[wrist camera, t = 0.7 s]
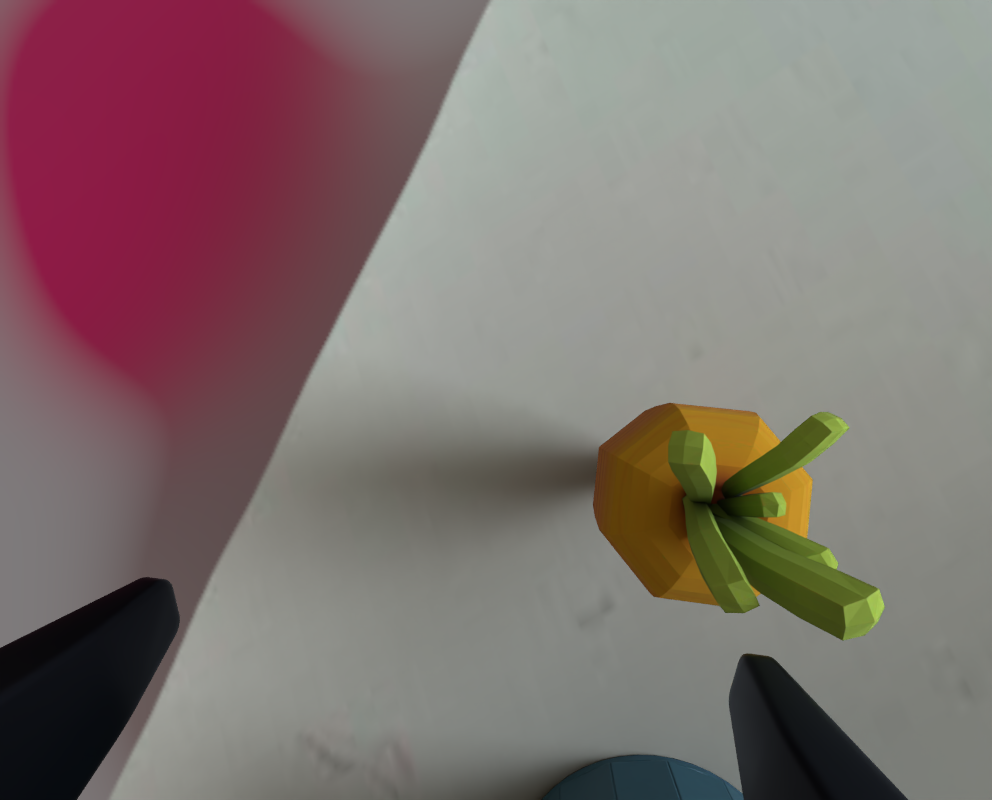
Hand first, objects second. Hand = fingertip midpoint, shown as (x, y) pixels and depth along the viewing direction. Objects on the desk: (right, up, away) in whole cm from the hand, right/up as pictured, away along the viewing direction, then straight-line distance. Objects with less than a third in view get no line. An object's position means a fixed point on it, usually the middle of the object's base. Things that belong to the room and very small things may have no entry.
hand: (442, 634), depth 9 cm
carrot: (+7, +1, +15) cm, 16 cm away
